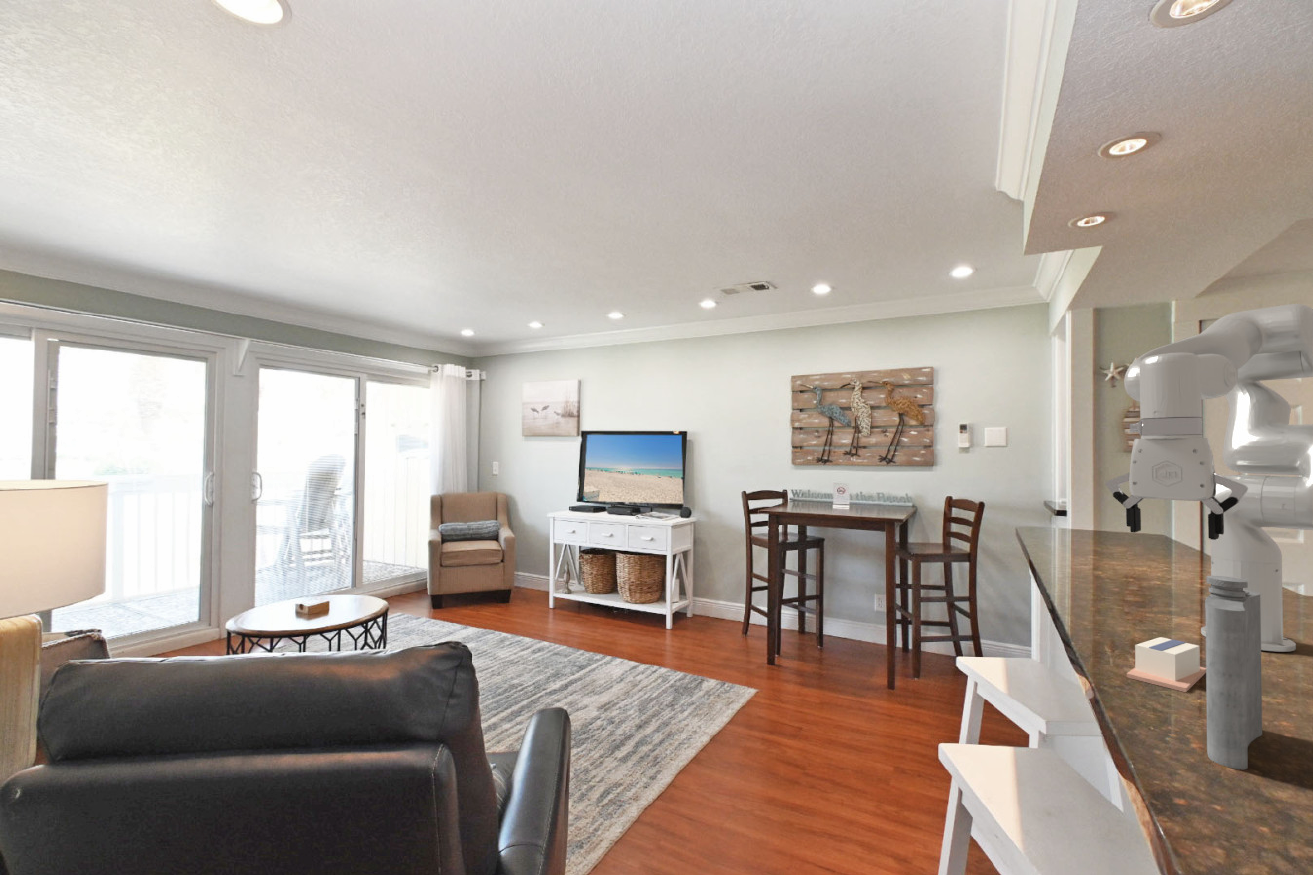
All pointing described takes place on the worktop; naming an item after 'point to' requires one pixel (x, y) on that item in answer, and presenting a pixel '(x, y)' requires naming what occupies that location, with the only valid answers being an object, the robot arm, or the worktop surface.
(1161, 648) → the card box
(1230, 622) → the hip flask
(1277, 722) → the worktop surface
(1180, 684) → the mat
